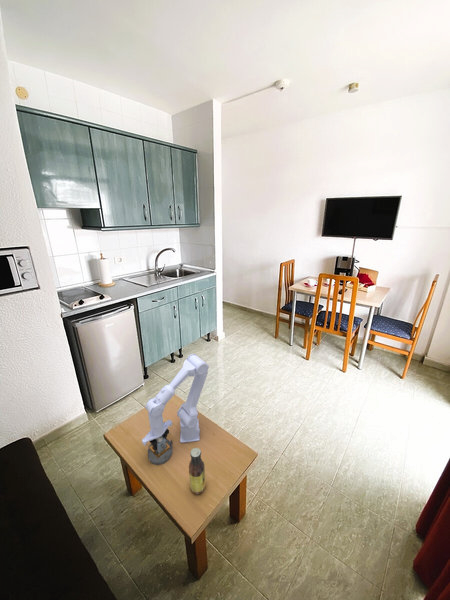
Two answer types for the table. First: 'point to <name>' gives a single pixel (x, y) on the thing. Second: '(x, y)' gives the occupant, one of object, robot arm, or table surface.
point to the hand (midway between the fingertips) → (159, 445)
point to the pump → (160, 444)
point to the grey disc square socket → (161, 457)
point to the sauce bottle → (196, 472)
